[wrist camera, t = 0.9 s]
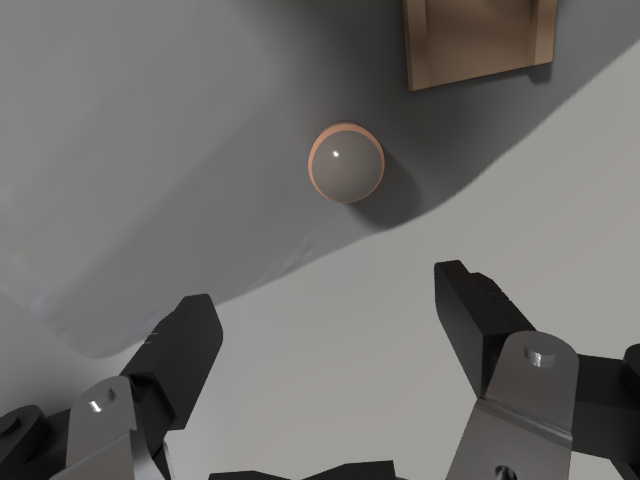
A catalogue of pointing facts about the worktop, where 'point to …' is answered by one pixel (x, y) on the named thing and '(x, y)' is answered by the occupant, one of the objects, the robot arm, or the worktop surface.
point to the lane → (474, 38)
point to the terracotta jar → (346, 162)
